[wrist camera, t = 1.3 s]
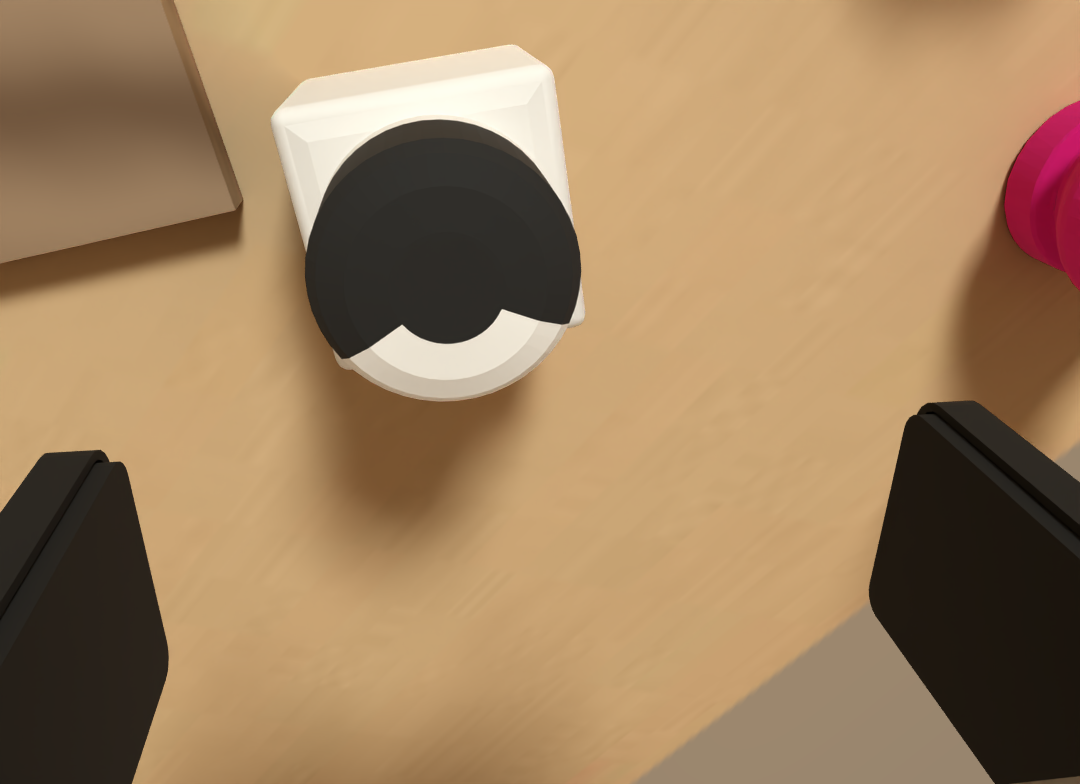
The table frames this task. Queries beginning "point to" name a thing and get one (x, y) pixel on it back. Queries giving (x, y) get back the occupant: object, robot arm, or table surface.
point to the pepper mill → (1049, 194)
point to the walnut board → (102, 125)
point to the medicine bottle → (435, 219)
